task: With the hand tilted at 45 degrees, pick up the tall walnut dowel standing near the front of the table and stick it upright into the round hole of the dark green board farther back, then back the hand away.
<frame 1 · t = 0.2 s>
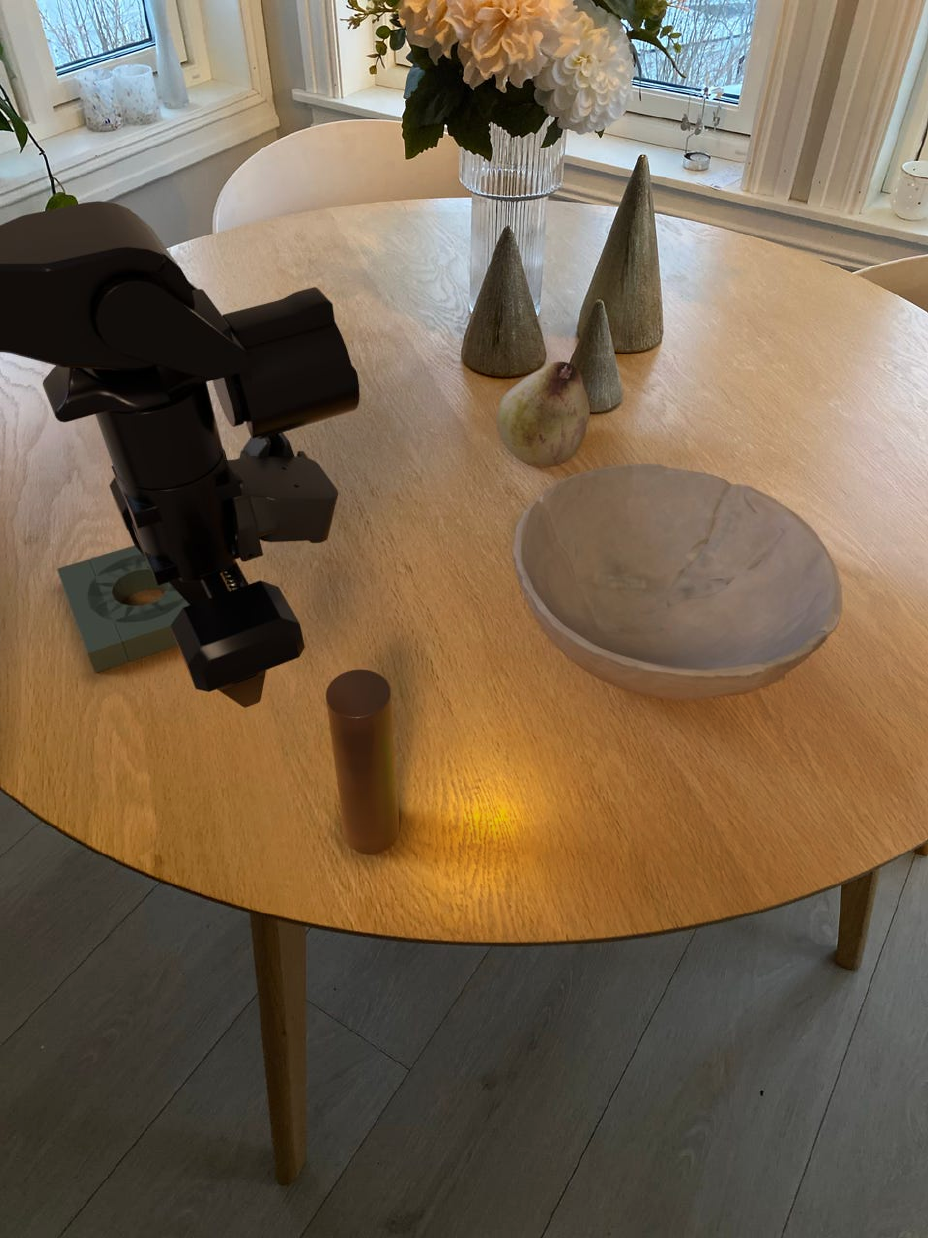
hand: (228, 655, 62), 14 cm above the table, tool pointing down, fingers open, 9 cm apart
bowl: (656, 642, 84), on the table
fruit: (539, 456, 104), on the table
board: (146, 607, 86), on the table
dowel: (372, 830, 69), on the table
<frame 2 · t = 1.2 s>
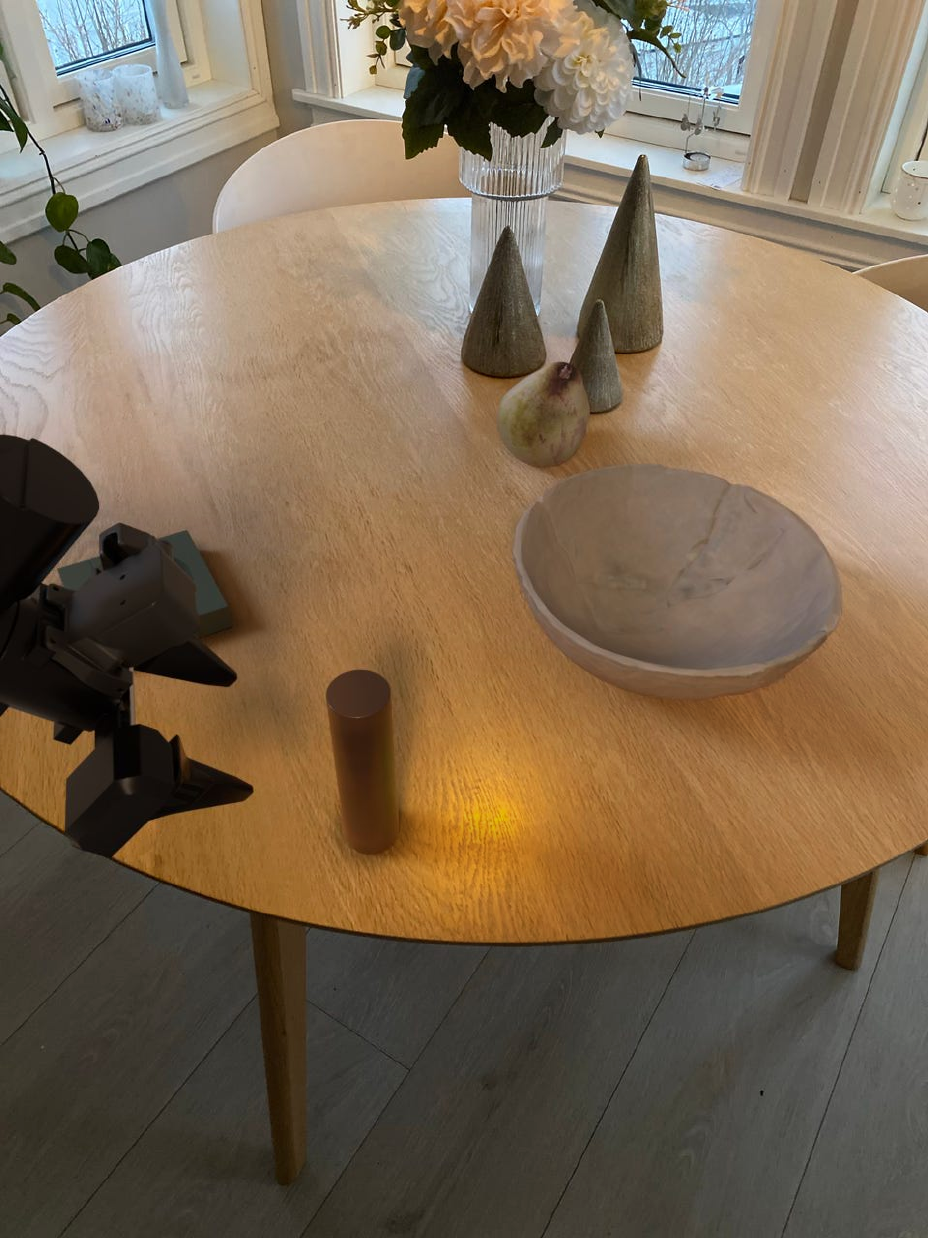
hand: (241, 734, 59), 13 cm above the table, tool tilted 45°, fingers open, 9 cm apart
nothing on the table moved.
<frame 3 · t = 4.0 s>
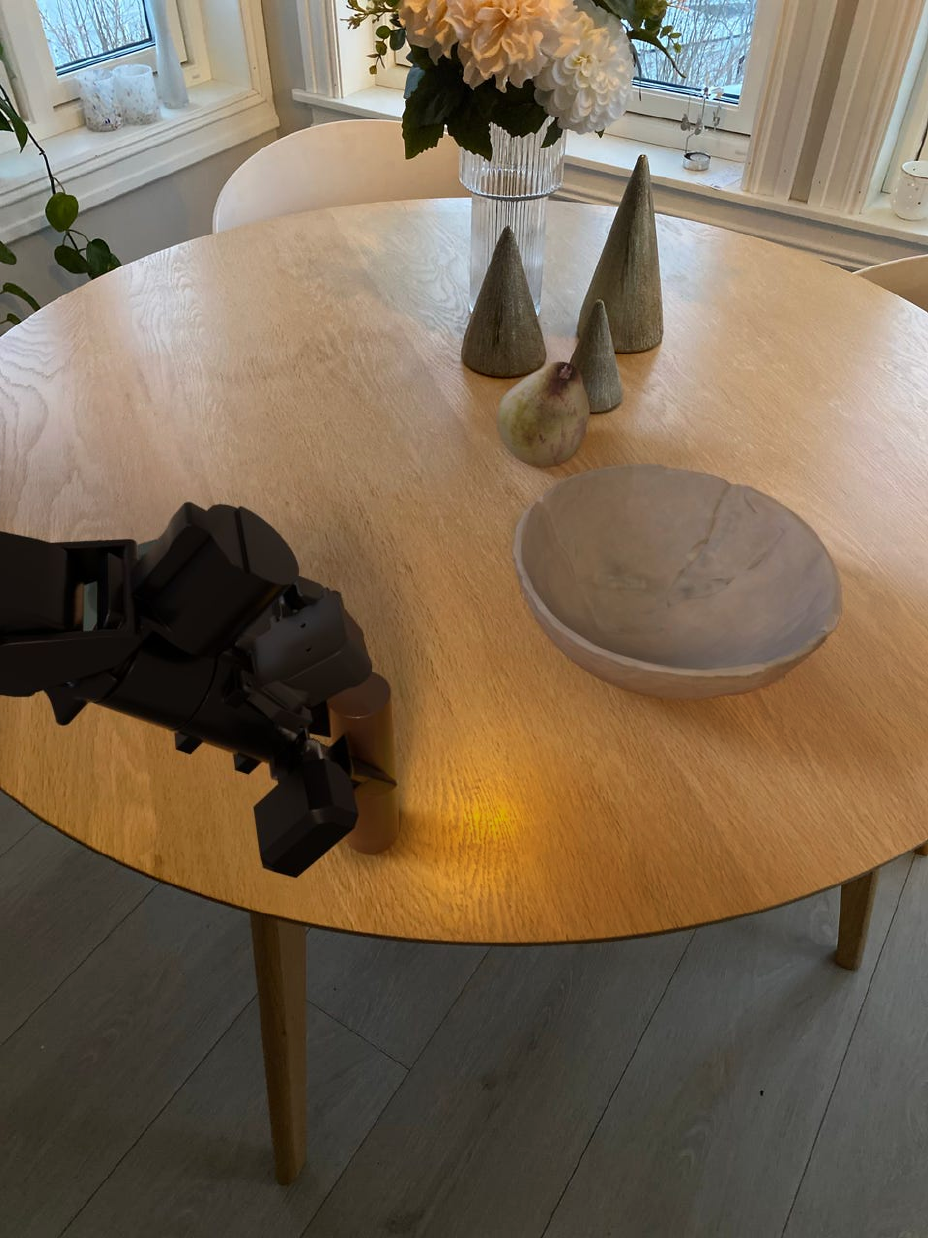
hand: (385, 762, 64), 8 cm above the table, tool tilted 45°, fingers closed on dowel, 4 cm apart
dowel: (372, 830, 69), on the table, touching gripper
everything else where it was.
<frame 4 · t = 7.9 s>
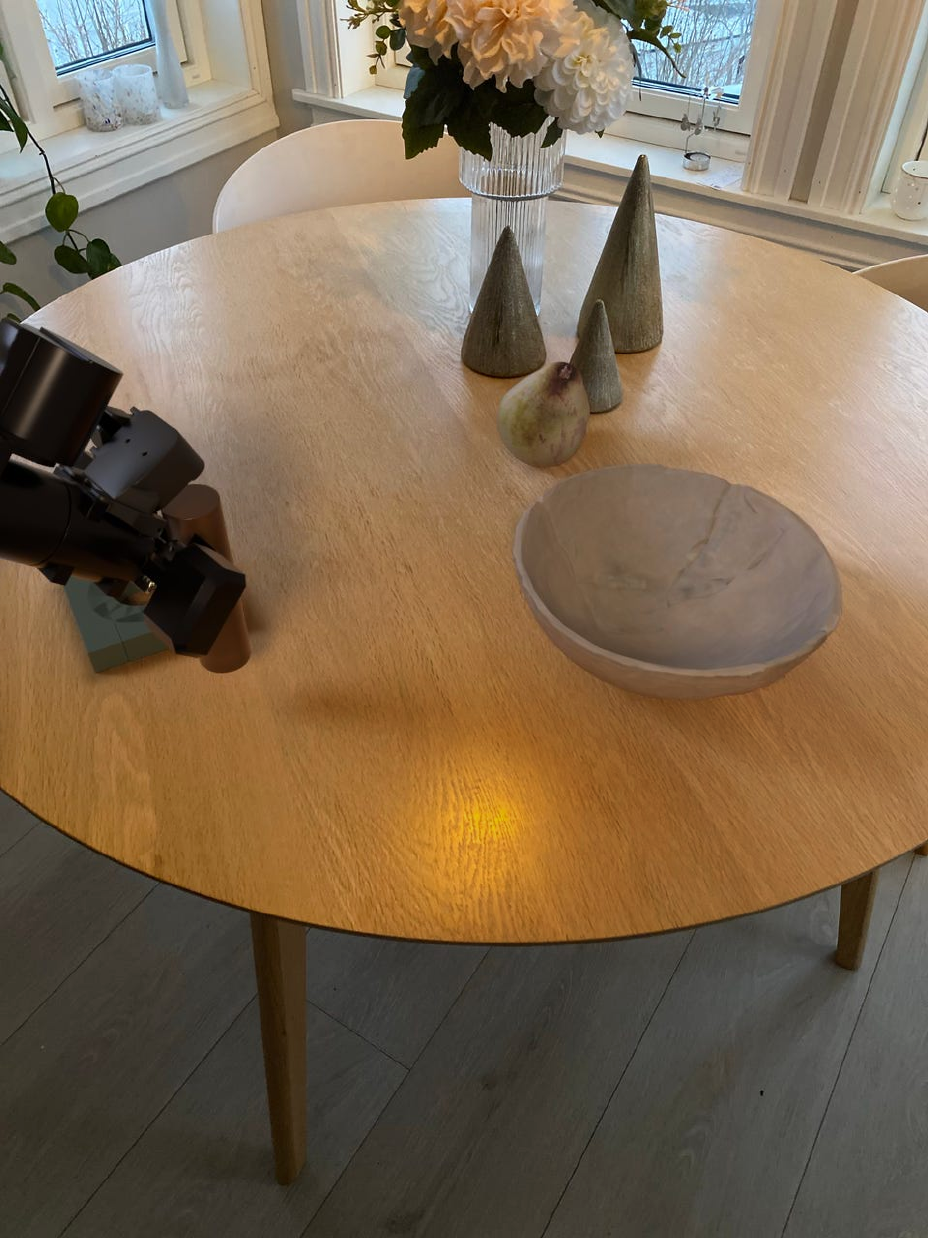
hand: (224, 574, 70), 13 cm above the table, tool tilted 45°, fingers closed on dowel, 4 cm apart
dowel: (225, 655, 75), point 5 cm above the table, touching gripper
everything else where it was.
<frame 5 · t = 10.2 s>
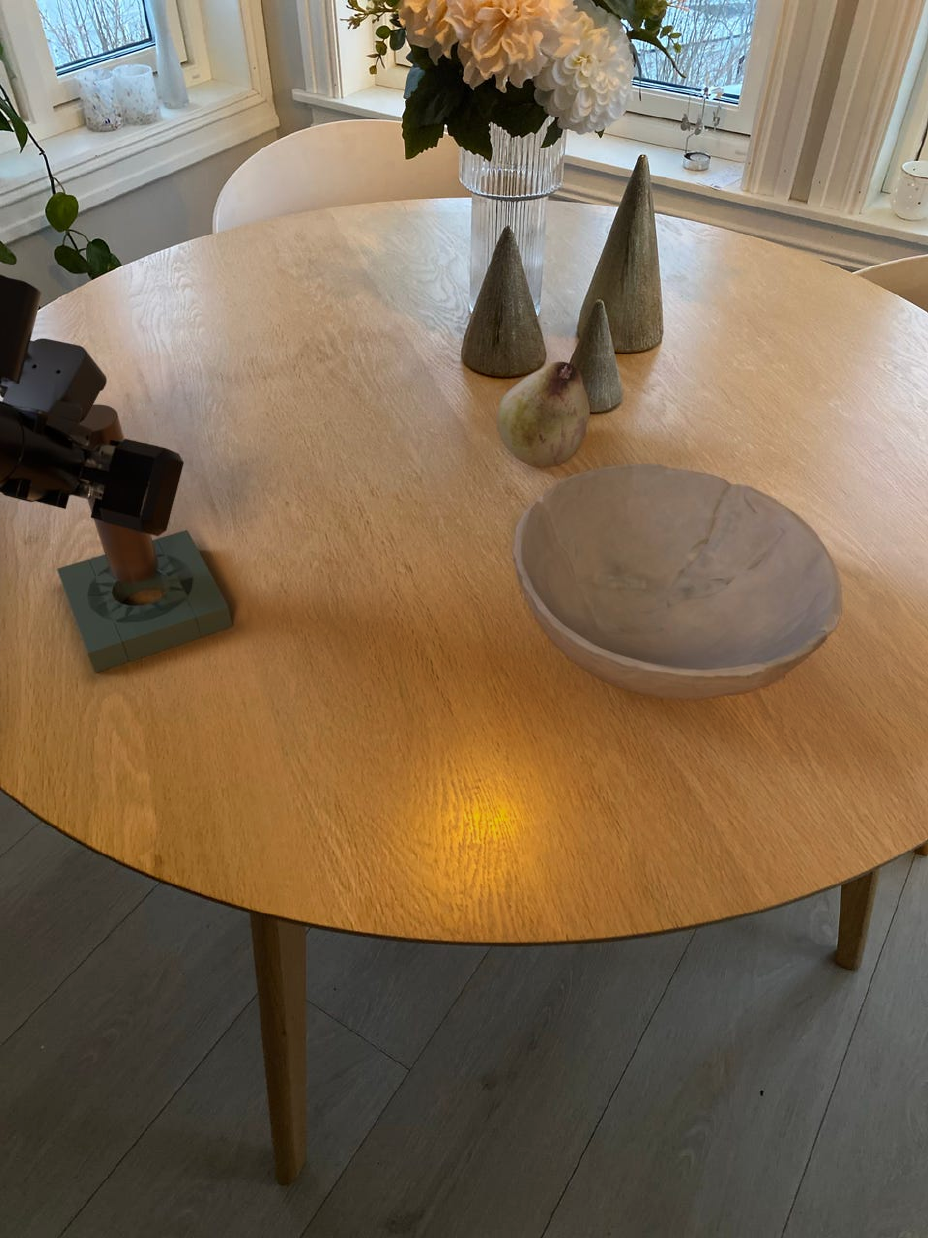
hand: (123, 488, 79), 12 cm above the table, tool tilted 45°, fingers closed on dowel, 4 cm apart
dowel: (135, 568, 83), point 5 cm above the table, touching gripper
everything else where it was.
when the fingers open (8 cm above the table, at t = 11.9 s): dowel stays where it is, resting in board.
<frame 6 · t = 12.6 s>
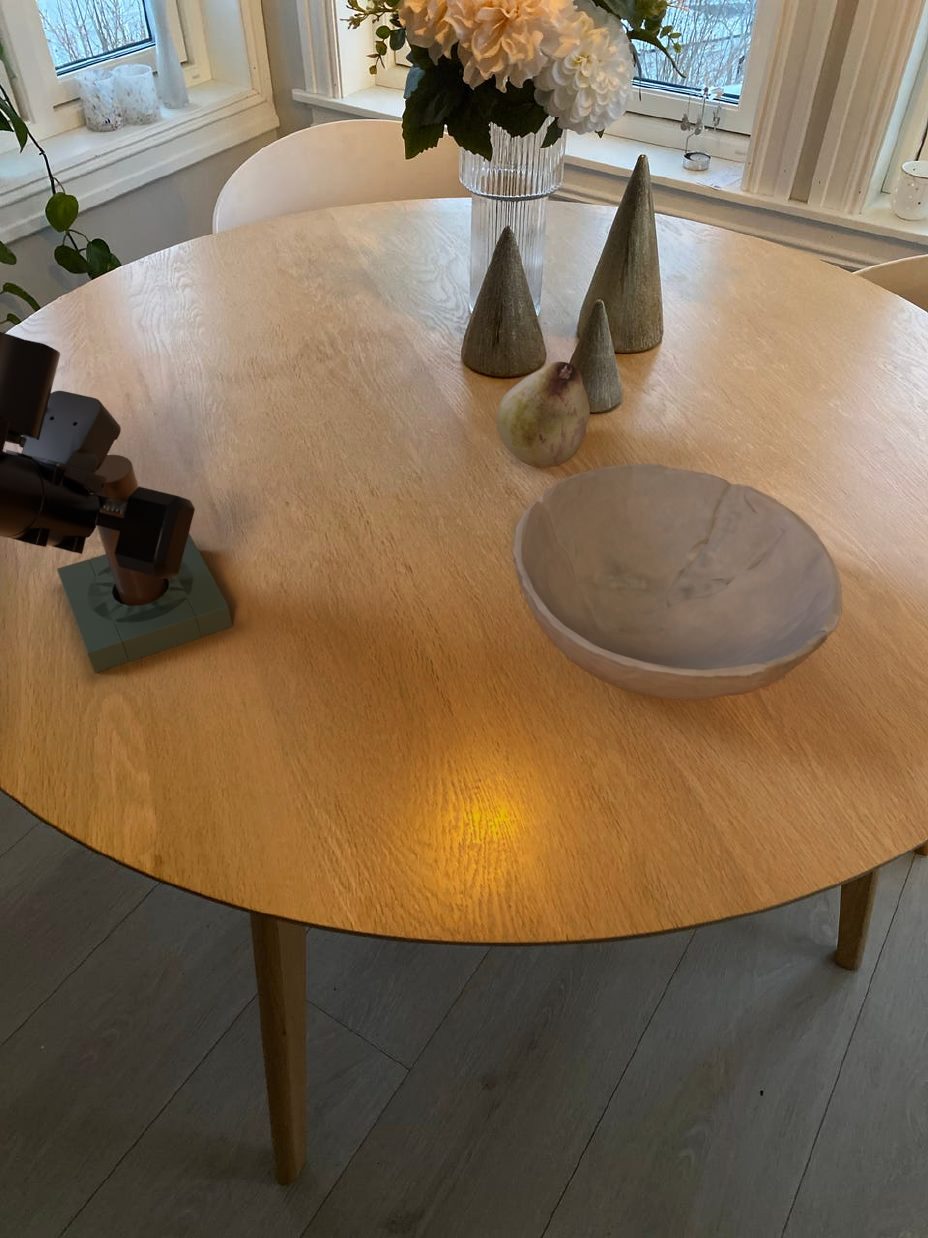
hand: (135, 527, 81), 8 cm above the table, tool tilted 45°, fingers open, 9 cm apart
dowel: (147, 606, 86), resting in board
everything else where it was.
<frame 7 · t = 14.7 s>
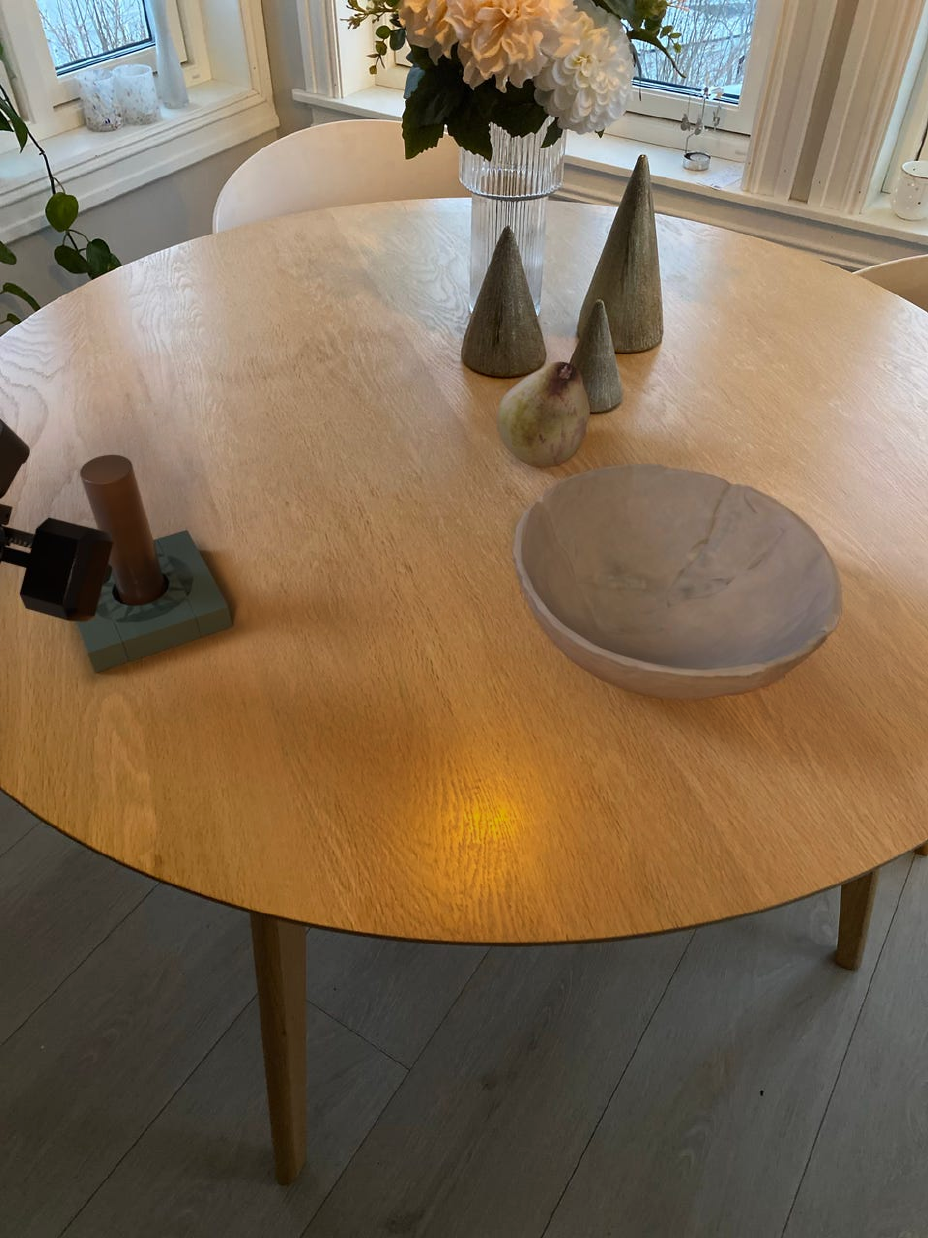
hand: (58, 559, 73), 12 cm above the table, tool tilted 45°, fingers open, 9 cm apart
nothing on the table moved.
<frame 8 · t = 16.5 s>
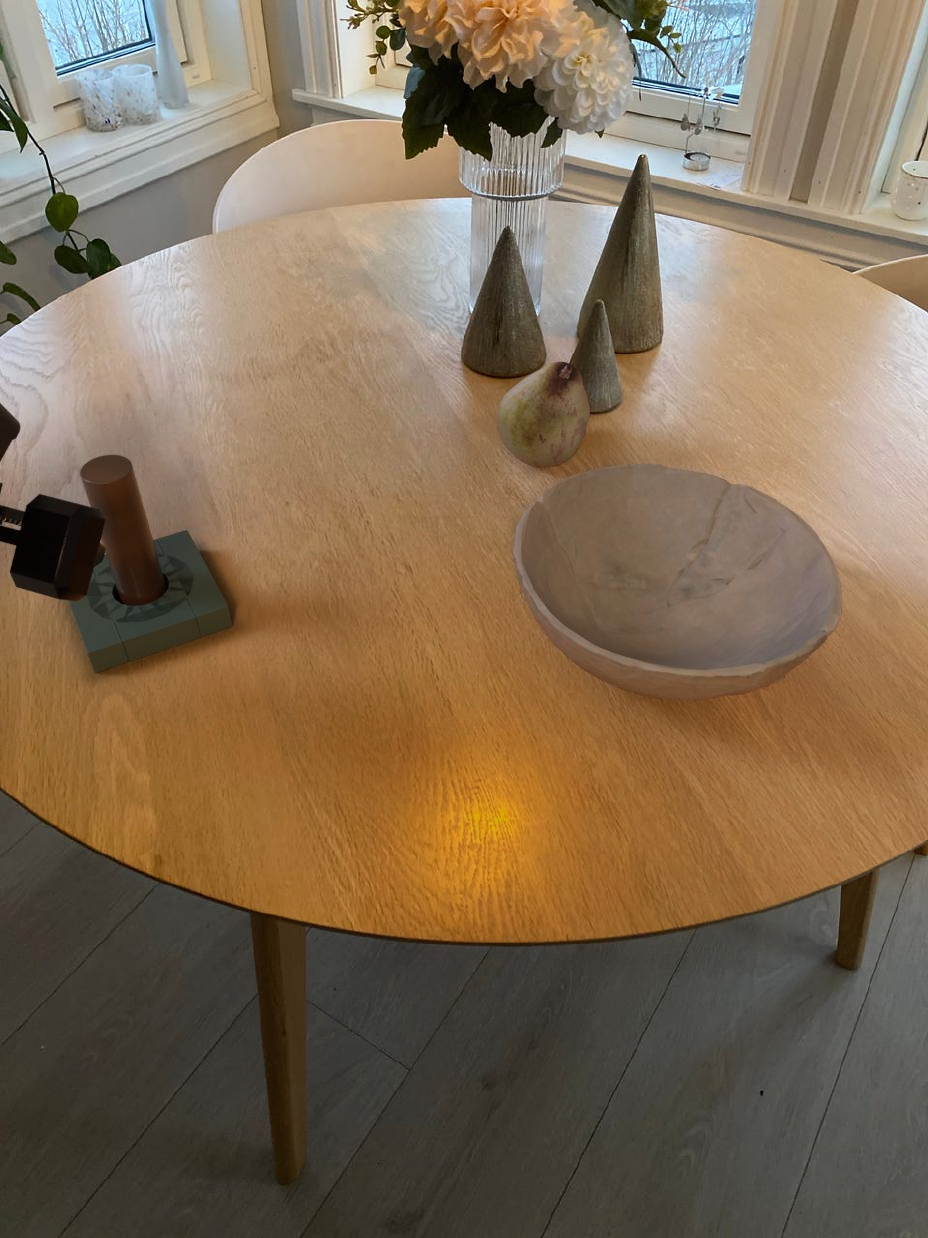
hand: (50, 540, 72), 14 cm above the table, tool tilted 45°, fingers open, 9 cm apart
nothing on the table moved.
at the end: dowel 0.1 cm off-centre in the board, point 0.0 cm above the board's base; dowel tilted 0°; the gripper is holding nothing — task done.
